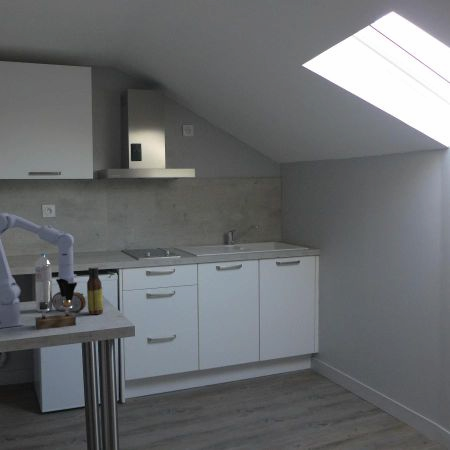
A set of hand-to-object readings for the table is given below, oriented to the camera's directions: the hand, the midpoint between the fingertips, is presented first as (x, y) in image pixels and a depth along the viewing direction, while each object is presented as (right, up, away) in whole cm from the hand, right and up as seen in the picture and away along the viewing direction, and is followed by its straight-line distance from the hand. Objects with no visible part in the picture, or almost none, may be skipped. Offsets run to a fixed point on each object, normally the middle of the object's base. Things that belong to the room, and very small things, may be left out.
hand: (66, 298), depth 238 cm
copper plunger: (0, -7, +1) cm, 7 cm away
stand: (-4, -10, -1) cm, 11 cm away
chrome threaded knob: (-8, -8, -4) cm, 12 cm away
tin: (-5, -9, +22) cm, 24 cm away
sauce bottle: (+7, -9, +19) cm, 22 cm away
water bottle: (-16, -8, +23) cm, 29 cm away
